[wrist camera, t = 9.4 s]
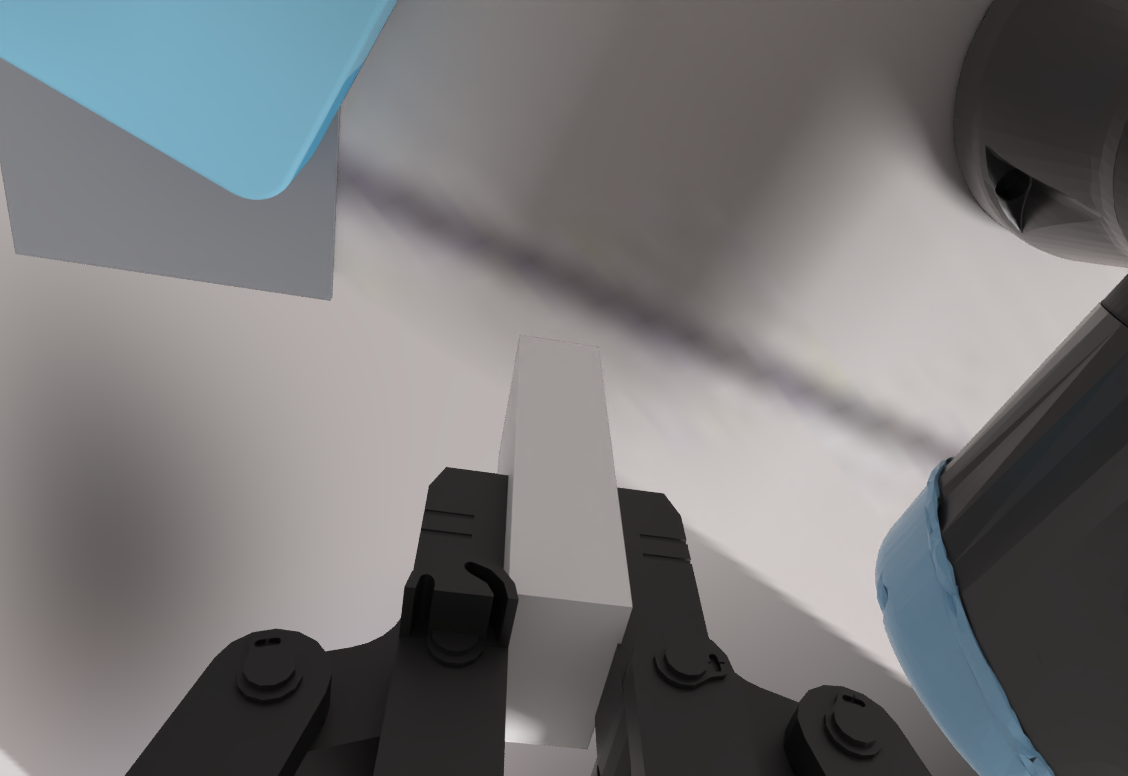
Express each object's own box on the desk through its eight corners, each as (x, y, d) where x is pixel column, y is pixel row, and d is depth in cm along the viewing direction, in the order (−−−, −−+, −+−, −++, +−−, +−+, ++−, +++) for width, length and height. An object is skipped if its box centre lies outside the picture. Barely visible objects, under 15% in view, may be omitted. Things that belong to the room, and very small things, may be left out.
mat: (354, -211, 29) (351, -212, 29) (332, 297, 39) (330, 300, 39) (-72, -306, 27) (-80, -309, 27) (20, 250, 38) (15, 253, 37)
